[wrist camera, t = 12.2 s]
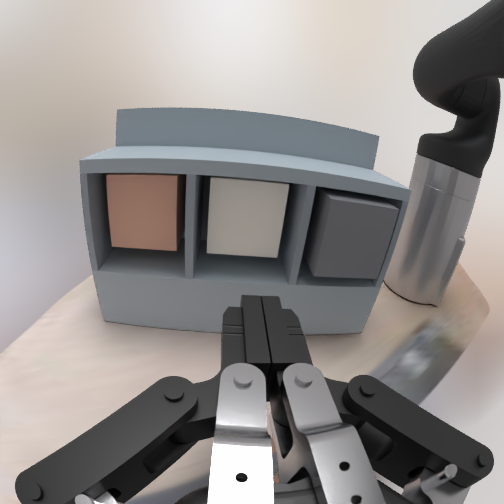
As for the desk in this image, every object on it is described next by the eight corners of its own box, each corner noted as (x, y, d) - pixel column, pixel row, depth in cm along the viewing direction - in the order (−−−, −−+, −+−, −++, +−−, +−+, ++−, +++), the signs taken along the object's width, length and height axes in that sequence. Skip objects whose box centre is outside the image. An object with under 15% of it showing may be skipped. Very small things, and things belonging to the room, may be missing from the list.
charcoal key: (376, 278, 21) (399, 209, 18) (313, 276, 20) (331, 198, 18) (354, 250, 25) (370, 190, 23) (299, 246, 25) (311, 180, 22)
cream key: (277, 257, 22) (289, 184, 20) (206, 253, 22) (210, 177, 19) (269, 232, 27) (278, 170, 24) (210, 227, 26) (214, 165, 23)
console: (361, 332, 25) (421, 147, 17) (104, 320, 23) (79, 111, 14) (334, 282, 33) (370, 134, 25) (130, 270, 30) (124, 109, 22)
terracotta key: (176, 251, 21) (177, 175, 19) (112, 246, 21) (106, 174, 18) (185, 226, 26) (187, 163, 23) (130, 223, 25) (128, 162, 23)
